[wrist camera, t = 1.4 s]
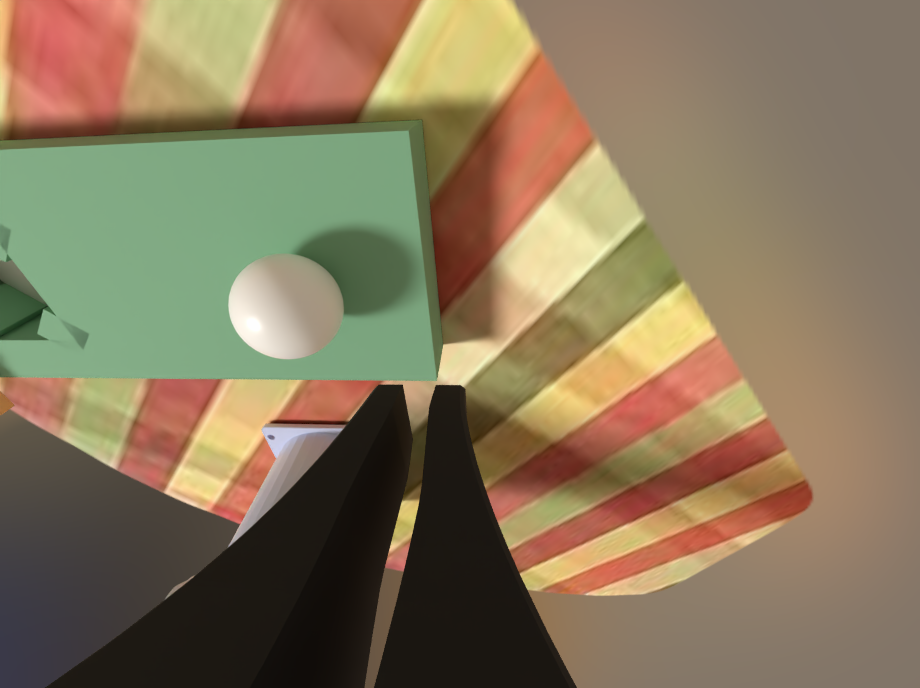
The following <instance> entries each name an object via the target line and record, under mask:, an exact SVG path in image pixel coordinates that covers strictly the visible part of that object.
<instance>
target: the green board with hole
mask: <svg viewBox="0 0 920 688" xmlns="http://www.w3.org/2000/svg"><path fill="white" fill-rule="evenodd" d="M282 253H283V254H294V255H299V256H303V257H306V258H308V259H311V260H312V261H314V262H316V263H318V264H319V265H321V266H322V267H323V268H324V269H326V270H327V271H328V272H329V273H330V274H331V276H332V277H333V278H334V279H335V281H336V283H337V284H338V286H339V288H340V291H341V294H342V297H343V304H344V313H343V319H342V323H341V326H340V328H339V330H338V332H337V334H336V335H335V337H334V338H333V339H332V341H331V342H330V343H329V344H328V345H326V346H325V347H324V348H323V349H321V350H320V351H318V352H316V353H314V354H312V355H309V356H306V357H303V358H297V359H279V358H274V357H270V356H267V355H264V354H262V353H260V352H258V351H256V350H255V349H253V348H252V347H250V346H249V345H248V344H247V343H246V342H244V341H243V339H242V338H241V337H240V336H239V335H238V333H237V332H236V330H235V328H234V326H233V324H232V322H231V319H230V315H229V308H228V303H229V294H230V290H231V287H232V285H233V283H234V281H235V279H236V278H237V276H238V275H239V273H240V272H241V271H242V270H243V269H244V268H245V267H247V266H248V265H249V264H251V263H252V262H254V261H255V260H257V259H260V258H262V257H265V256H268V255H273V254H282ZM3 282H4V283H5V284H4V283H3ZM442 348H443V340H442V329H441V318H440V307H439V297H438V286H437V275H436V265H435V254H434V243H433V233H432V222H431V211H430V200H429V190H428V179H427V168H426V158H425V147H424V136H423V125H422V120H408V121H388V122H367V123H347V124H326V125H306V126H286V127H265V128H245V129H225V130H204V131H184V132H163V133H143V134H123V135H102V136H82V137H62V138H41V139H21V140H0V377H42V378H161V379H279V380H398V381H437V377H438V371H439V365H440V360H441V354H442ZM13 406H14V404H13V403H12V402H11V401H10V400H9V399H8V398H7V397H6V396H4V395H3V394H2V393H1V392H0V415H2V414H3V413H4V412H6V411H7V410H9V409H10V408H12V407H13Z"/></svg>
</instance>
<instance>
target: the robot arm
mask: <svg viewBox="0 0 920 688" xmlns="http://www.w3.org/2000/svg"><path fill="white" fill-rule="evenodd" d="M262 432H263V434H264V436H265V438H266V440H267V442H268V444H269V446H270V448H271V449H272V451H273V453H274V455H275V457H276V460H275V462H274V464H273V466H272V468H271V469H270V471H269V473H268V475H267V477H266V479H265V480H264V482H263V484H262V486H261V488H260V490H259V491H258V493H257V495H256V497H255V499H254V501H253V502H252V504H251V506H250V508H249V510H248V512H247V513H246V515H245V517H244V519H243V521H242V523H241V524H240V526H239V528H238V530H237V532H236V534H235V535H234V537H233V539H232V541H231V543H230V545H229V546H228V548H227V549H226V550H225V551H223V552H222V553H221V554H220V555H219V556H218V557H217V558H216V559H214V560H213V561H212V562H211V563H210V564H208V565H207V566H206V567H205V568H204V569H203V570H201V571H200V572H199V573H198V574H197V575H195V576H192V577H191V578H189V579H188V581H185V582H183V583H181V584H179V585H177V586H176V587H174V588H173V589H172V590H171V592H170V593H169V594H168V596H167V597H166V598H165V600H164V601H162V602H161V603H160V604H159V605H157V606H156V607H155V608H153V609H152V610H151V611H150V612H149V613H147V614H146V615H145V616H143V617H142V618H141V619H139V620H138V621H137V622H136V623H134V624H133V625H132V626H130V627H129V628H128V629H126V630H125V631H124V632H122V633H121V634H120V635H119V636H117V637H116V638H114V639H113V640H112V641H111V642H109V643H108V644H106V645H105V646H103V647H102V648H101V649H99V650H98V651H96V652H95V653H93V654H92V655H91V656H89V657H88V658H86V659H85V660H84V661H82V662H81V663H79V664H78V665H77V666H75V667H74V668H72V669H71V670H69V671H68V672H67V673H65V674H64V675H62V676H61V677H60V678H58V679H57V680H55V681H54V682H53V683H51V684H50V685H49V686H47V687H45V688H364V686H365V679H366V673H367V666H368V660H369V653H370V647H371V640H372V634H373V628H374V622H375V616H376V609H377V604H378V598H379V592H380V587H381V582H382V577H383V573H384V568H385V564H386V560H387V556H388V552H389V549H390V545H391V541H392V537H393V533H394V529H395V525H396V521H397V518H398V514H399V510H400V506H401V502H402V498H403V494H404V490H405V486H406V482H407V478H408V471H409V464H410V457H411V450H412V442H413V438H412V432H411V427H410V421H409V416H408V411H407V405H406V400H405V394H404V389H403V385H378V386H377V387H376V388H375V389H374V390H373V392H372V393H371V394H370V395H369V397H368V398H367V399H366V401H365V402H364V403H363V405H362V406H361V407H360V408H359V410H358V411H357V412H356V414H355V415H354V416H353V417H352V419H351V420H350V421H349V422H348V424H347V425H323V424H265V425H264V426H263V428H262ZM374 688H577V687H576V685H575V683H574V682H573V680H572V678H571V676H570V674H569V672H568V670H567V669H566V666H565V665H564V663H563V661H562V659H561V657H560V655H559V653H558V651H557V649H556V648H555V646H554V643H553V642H552V640H551V638H550V636H549V634H548V632H547V630H546V628H545V626H544V624H543V622H542V620H541V618H540V616H539V613H538V611H537V609H536V607H535V605H534V603H533V601H532V599H531V597H530V595H529V593H528V590H527V588H526V586H525V584H524V582H523V580H522V578H521V576H520V574H519V572H518V569H517V567H516V565H515V562H514V560H513V558H512V556H511V553H510V551H509V549H508V546H507V544H506V542H505V539H504V537H503V534H502V532H501V529H500V527H499V525H498V522H497V520H496V517H495V514H494V512H493V509H492V506H491V504H490V501H489V498H488V495H487V492H486V489H485V486H484V483H483V480H482V477H481V474H480V471H479V468H478V465H477V461H476V457H475V454H474V450H473V446H472V442H471V438H470V434H469V429H468V424H467V411H466V393H465V388H463V387H462V386H461V385H436V387H435V390H434V393H433V396H432V400H431V403H430V407H429V416H428V426H427V436H426V447H425V458H424V469H423V480H422V488H421V494H420V501H419V506H418V511H417V515H416V520H415V525H414V529H413V534H412V538H411V543H410V547H409V552H408V556H407V560H406V564H405V568H404V573H403V577H402V581H401V585H400V589H399V594H398V598H397V602H396V606H395V610H394V614H393V617H392V621H391V625H390V629H389V633H388V637H387V641H386V644H385V648H384V652H383V656H382V660H381V664H380V668H379V672H378V675H377V679H376V683H375V686H374Z"/></svg>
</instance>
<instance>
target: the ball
mask: <svg viewBox="0 0 920 688" xmlns="http://www.w3.org/2000/svg"><path fill="white" fill-rule="evenodd" d="M228 308H229V315H230V319H231V322H232V324H233V326H234V328H235V330H236V332H237V333H238V335H239V336H240V337H241V338H242V339H243V341H244V342H246V343H247V344H248V345H249V346H250V347H252V348H253V349H255V350H256V351H258V352H260V353H262V354H264V355H267V356H270V357H274V358H279V359H297V358H303V357H306V356H309V355H312V354H314V353H316V352H318V351H320V350H321V349H323V348H324V347H325V346H326V345H328V344H329V343H330V342H331V341H332V339H333V338H334V337H335V335H336V334H337V332H338V330H339V328H340V326H341V323H342V319H343V313H344V304H343V297H342V294H341V291H340V288H339V286H338V284H337V283H336V281H335V279H334V278H333V277H332V276H331V274H330V273H329V272H328V271H327V270H326V269H324V268H323V267H322V266H321V265H319V264H318V263H316V262H314V261H312V260H311V259H308V258H306V257H303V256H299V255H294V254H283V253H282V254H273V255H268V256H265V257H262V258H260V259H257V260H255V261H254V262H252V263H251V264H249V265H248V266H247V267H245V268H244V269H243V270H242V271H241V272H240V273H239V275H238V276H237V278H236V279H235V281H234V283H233V285H232V287H231V290H230V294H229V303H228Z"/></svg>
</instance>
